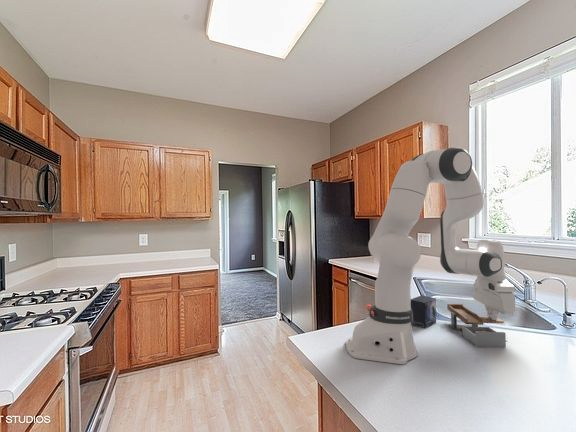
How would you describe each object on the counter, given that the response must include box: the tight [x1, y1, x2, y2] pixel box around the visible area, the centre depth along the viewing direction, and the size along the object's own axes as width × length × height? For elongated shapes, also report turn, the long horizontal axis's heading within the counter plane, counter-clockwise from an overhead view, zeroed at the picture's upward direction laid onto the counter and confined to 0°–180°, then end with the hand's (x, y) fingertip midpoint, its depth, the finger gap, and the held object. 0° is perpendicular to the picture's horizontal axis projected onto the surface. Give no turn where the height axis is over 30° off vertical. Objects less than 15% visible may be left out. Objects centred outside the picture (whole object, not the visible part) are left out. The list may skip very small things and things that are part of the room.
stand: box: [448, 312, 479, 331], centre depth 110 cm, size 10×4×6 cm, turn 84°
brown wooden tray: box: [447, 303, 505, 326], centre depth 110 cm, size 14×15×2 cm
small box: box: [411, 294, 437, 329], centre depth 116 cm, size 11×6×10 cm, turn 130°
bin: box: [461, 326, 507, 349], centre depth 98 cm, size 9×9×5 cm
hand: (492, 318), depth 106 cm, fingers closed, pressing on brown wooden tray
